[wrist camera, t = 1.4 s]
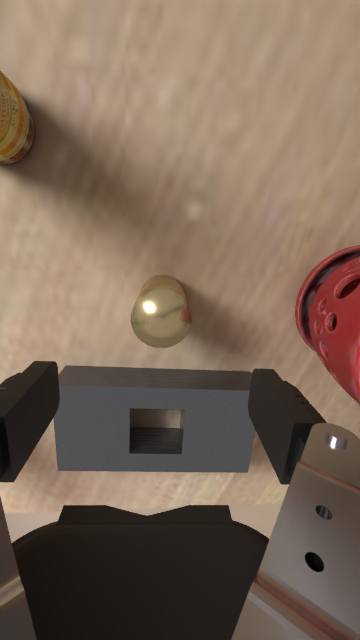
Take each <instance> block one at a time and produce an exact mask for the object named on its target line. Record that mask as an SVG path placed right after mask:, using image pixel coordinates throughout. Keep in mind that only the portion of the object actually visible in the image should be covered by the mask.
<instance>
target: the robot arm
mask: <svg viewBox="0 0 360 640" xmlns="http://www.w3.org/2000/svg"><path fill="white" fill-rule="evenodd" d="M59 402H60V392H59V378H58V366H57V363H56V362H54V361H34V362H33V363H32V364H31V365H30V366H29V367H28V368H27V369H26V370H24V371H23V372H22V373H17V374H15V375H13V376H11V377H10V378H8V379H6V380H5V381H4V382H2V383H1V384H0V482H14V481H15V479H16V478H17V476H18V474H19V473H20V471H21V469H22V468H23V466H24V465H25V463H26V461H27V460H28V458H29V456H30V455H31V453H32V452H33V450H34V448H35V447H36V445H37V443H38V442H39V440H40V438H41V437H42V435H43V434H44V432H45V430H46V429H47V427H48V425H49V424H50V422H51V421H52V419H53V417H54V416H55V414H56V412H57V410H58V407H59ZM248 412H249V416H250V419H251V421H252V423H253V425H254V427H255V429H256V432H257V434H258V436H259V438H260V440H261V442H262V444H263V447H264V449H265V451H266V453H267V455H268V457H269V459H270V462H271V464H272V466H273V468H274V470H275V472H276V474H277V477H278V479H279V481H280V483H281V484H289V487H288V490H287V492H286V495H285V498H284V501H283V504H282V506H281V509H280V512H279V515H278V518H277V520H276V523H275V526H274V529H273V532H272V535H271V537H270V539H269V538H267V537H266V536H264V535H263V534H261V533H259V532H258V531H257V530H255V529H253V528H251V527H249V526H247V525H244V524H242V523H239V522H236V521H233V520H232V518H231V514H230V510H229V506H228V505H188V506H185V507H181V508H177V509H173V510H169V511H166V512H161V513H157V514H154V515H149V516H145V515H140V514H137V513H132V512H129V511H125V510H121V509H117V508H114V507H110V506H106V505H64V506H63V509H62V512H61V514H60V517H59V520H58V521H57V522H53V523H50V524H48V525H45V526H42V527H40V528H37V529H35V530H33V531H31V532H29V533H27V534H26V535H24V536H22V537H21V538H19V539H17V540H16V541H14V542H13V543H11V539H10V535H9V531H8V527H7V522H6V519H5V514H4V510H3V506H2V502H1V498H0V640H360V439H359V438H358V437H357V436H356V435H355V434H353V433H352V432H350V431H349V430H347V429H345V428H343V427H340V426H338V425H334V424H330V423H327V422H326V421H325V420H324V419H323V418H322V416H321V415H320V414H319V413H318V412H317V411H316V410H315V408H314V407H313V406H312V405H311V404H309V401H308V400H307V399H306V398H305V397H304V396H303V394H302V393H301V392H300V391H299V390H298V389H297V388H296V387H294V386H293V385H291V384H290V383H288V382H287V381H283V380H282V379H281V378H280V377H279V375H278V374H277V373H276V372H275V370H273V369H254V370H253V373H252V379H251V386H250V392H249V399H248Z"/></svg>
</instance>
